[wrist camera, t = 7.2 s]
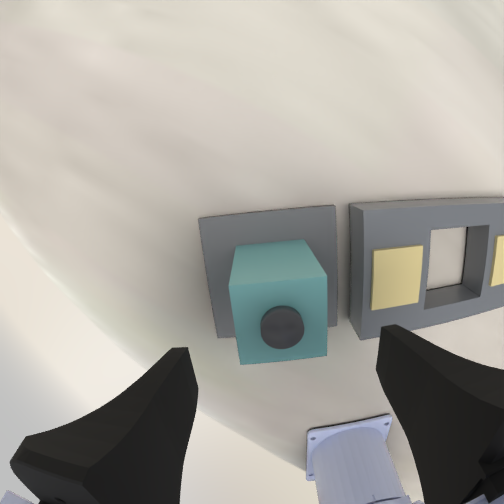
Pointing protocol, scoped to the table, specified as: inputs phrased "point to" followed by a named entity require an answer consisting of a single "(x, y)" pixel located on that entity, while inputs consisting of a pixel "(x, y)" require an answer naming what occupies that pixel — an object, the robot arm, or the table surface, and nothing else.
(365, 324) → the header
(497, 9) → the table surface
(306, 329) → the plug
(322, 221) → the mat
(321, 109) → the table surface
